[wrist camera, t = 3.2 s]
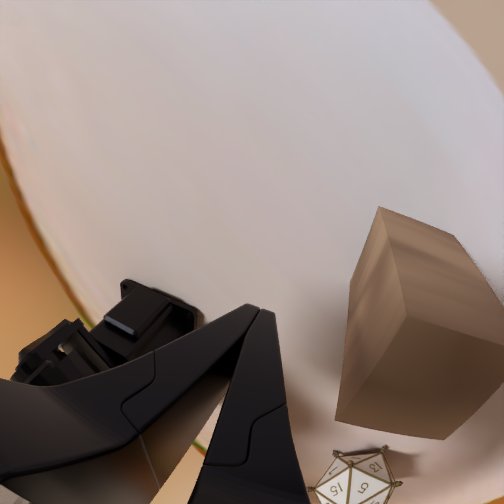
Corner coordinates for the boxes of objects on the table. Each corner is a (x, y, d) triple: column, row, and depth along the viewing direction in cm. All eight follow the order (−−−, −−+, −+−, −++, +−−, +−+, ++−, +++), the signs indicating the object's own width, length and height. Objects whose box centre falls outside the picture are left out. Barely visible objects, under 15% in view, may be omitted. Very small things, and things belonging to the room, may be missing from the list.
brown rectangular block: (419, 304, 15) (443, 440, 7) (350, 281, 16) (334, 420, 8) (453, 235, 13) (527, 352, 5) (378, 206, 14) (407, 315, 6)
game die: (383, 424, 25) (432, 490, 16) (325, 467, 26) (364, 530, 18) (343, 424, 20) (404, 515, 12) (273, 473, 21) (317, 557, 13)
